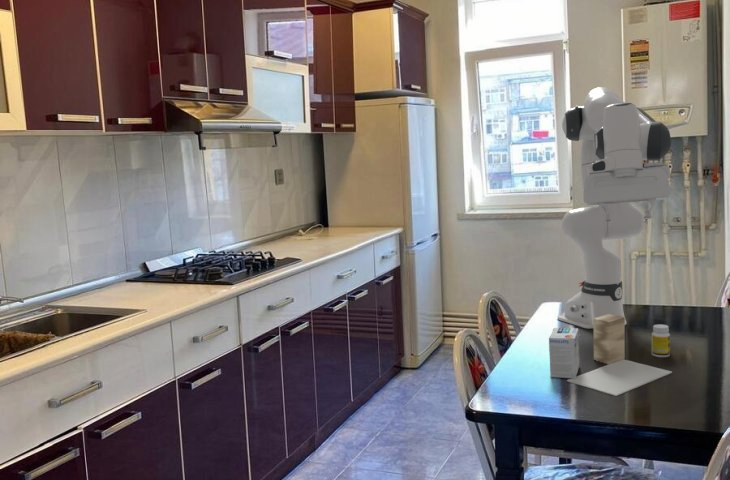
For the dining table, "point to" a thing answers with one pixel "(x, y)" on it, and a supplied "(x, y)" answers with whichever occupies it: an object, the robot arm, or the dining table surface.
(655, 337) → the supplement bottle
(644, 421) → the dining table surface
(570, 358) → the light bulb box
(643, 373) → the mat
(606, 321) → the beech block
